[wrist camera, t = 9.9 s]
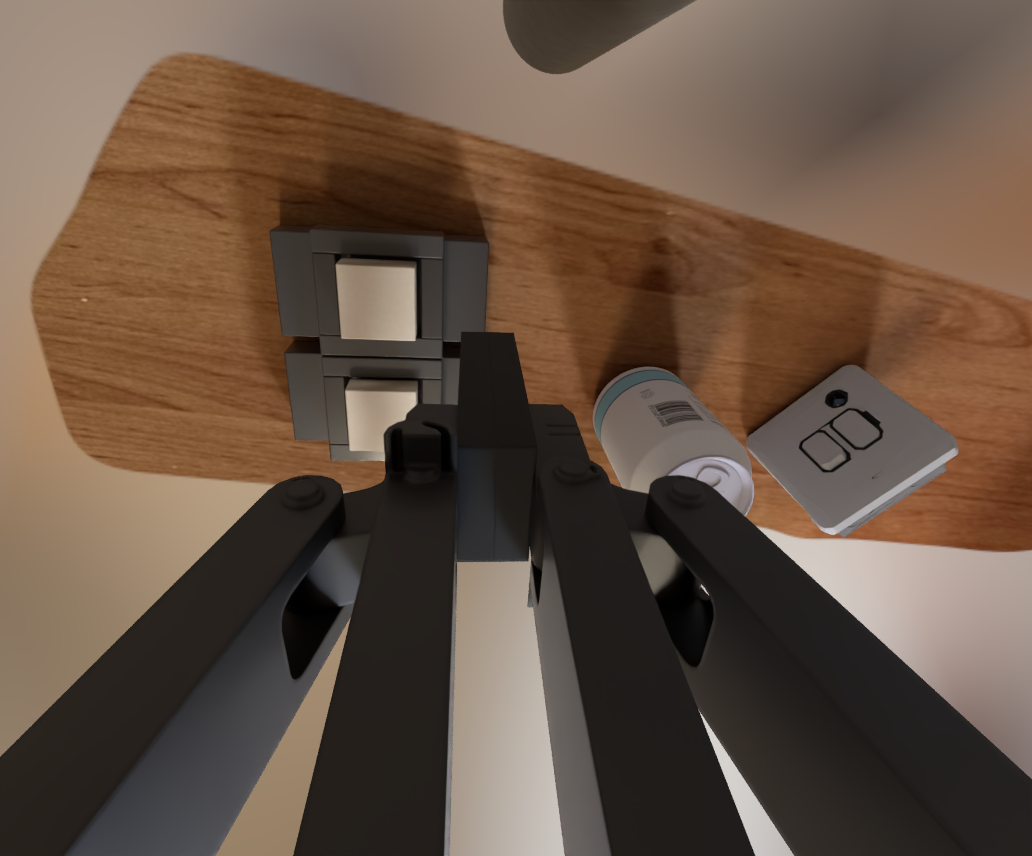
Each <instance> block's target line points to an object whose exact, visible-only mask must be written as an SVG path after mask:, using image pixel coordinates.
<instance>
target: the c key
mask: <svg viewBox="0 0 1032 856" xmlns="http://www.w3.org/2000/svg"><path fill="white" fill-rule="evenodd" d="M336 278H337V291H338V304H339V318H340V331H341V338H342V339H370V340H399V341H415V340H416V335H417V263H416V262H415V261H399V260H379V259H359V258H341V259H340V260H339V261H338V262H337V263H336Z"/></svg>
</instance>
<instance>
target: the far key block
mask: <svg viewBox="0 0 1032 856" xmlns="http://www.w3.org/2000/svg"><path fill="white" fill-rule="evenodd" d="M284 355H285V363H286V371H287V379H288V387H289V395H290V403H291V412H292V420H293V428H294V436H295V440H328V441H329V443H330V444H329V447H330V458H331V460H335V461H385V453H384V451H350V450H349V438H348V425H347V411H346V398H345V389H346V387H347V385H348V383H349V380H350V379H372V380H410V381H418V404H453V405H458V388H459V367H460V347H451V346H443V353H442V358H411V357H378V356H346V355H321V350H320V342H301V341H293V342H292V344H291V345H290V346H289V347H288V349H287V350H286V351H285V353H284Z"/></svg>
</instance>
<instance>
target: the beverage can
mask: <svg viewBox="0 0 1032 856" xmlns="http://www.w3.org/2000/svg"><path fill="white" fill-rule="evenodd" d="M593 425H594V429H595V432H596V434H597V436H598V439H599V441H600V443H601V445H602V447H603V449H604V451H605V453H606V455H607V457H608V459H609V461H610V463H611V465H612V467H613V469H614V471H615V474H616V476H617V478H618V480H619V482H620V484H621V486H622V488H625V489H628V490H633V491H638V492H643V493H649V488H650V484H651V483H652V482H653V481H654V480H655V479H657V478H660V477H663V476H671V475H682V476H685V477H687V476H688V477H693V478H695V479H697V480H700V481H702V482H705V483H707V484H708V485H710V486H711V487H713V488H714V489H715V490H717V491H718V492H719V493H720V494H721V495H722V496H723V497H724V498H725V499H727V500H728V501H729V502H730V503H731V504H732V505H733V506H734V507H735V508H736V509H737V510H739V511H740V512H741V513H742V514H743V515H744V516H746V515H747V513H748V511H749V510H750V508H751V505H752V502H753V498H754V484H753V480H752V478H751V475H752V469H751V462H750V459H749V456H748V454H747V452H746V450H745V448H744V447H743V446H742V444H741V443H740V442H739V441H738V440H737V439H736V438H735V437H734V436H733V435H732V434H731V433H730V432H729V430H728V429H727V428H726V427H725V426H724V425H723V424H722V423H721V422H720V421H719V420H718V419H717V418H716V417H715V416H714V415H713V414H712V413H711V412H710V410H709V409H708V408H707V407H706V406H705V405H704V404H703V403H702V402H701V401H700V400H699V399H698V398H697V397H696V396H695V395H694V394H693V393H692V392H691V390H690V389H689V388H688V387H687V386H686V385H685V384H684V383H683V382H682V381H681V380H680V379H679V378H678V377H677V376H676V375H674V374H673V373H671V372H669V371H667V370H665V369H662V368H657V367H639V368H635V369H631V370H629V371H626V372H624V373H622V374H620V375H618V376H617V377H615V378H614V379H613V380H612V381H610V382H609V383H608V384H607V385H606V386H605V388H604V389H603V390H602V392H601V393H600V395H599V396H598V399H597V401H596V403H595V406H594V411H593Z"/></svg>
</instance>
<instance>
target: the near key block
mask: <svg viewBox="0 0 1032 856" xmlns="http://www.w3.org/2000/svg"><path fill="white" fill-rule="evenodd" d="M269 232H270V240H271V248H272V257H273V265H274V273H275V281H276V289H277V297H278V305H279V314H280V322H281V330H282V335H283V336H302V337H319V339H320V350H321V355H346V356H378V357H411V358H442V353H443V341H447V342H461V331H464V332H485V319H486V297H487V275H488V252H489V242H488V239H487V237H486V236H469V235H451V234H444V232H443V231H427V230H410V229H392V228H375V227H358V226H340V225H323V224H317V225H315V226H314V227H310V226H293V225H279V226H277V227H275V228H273V229H271V230H270V231H269ZM341 258H359V259H379V260H399V261H415V262H416V263H417V335H416V340H415V341H399V340H370V339H342V338H341V331H340V318H339V304H338V291H337V278H336V263H337V262H338V261H339V260H340V259H341Z"/></svg>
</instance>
